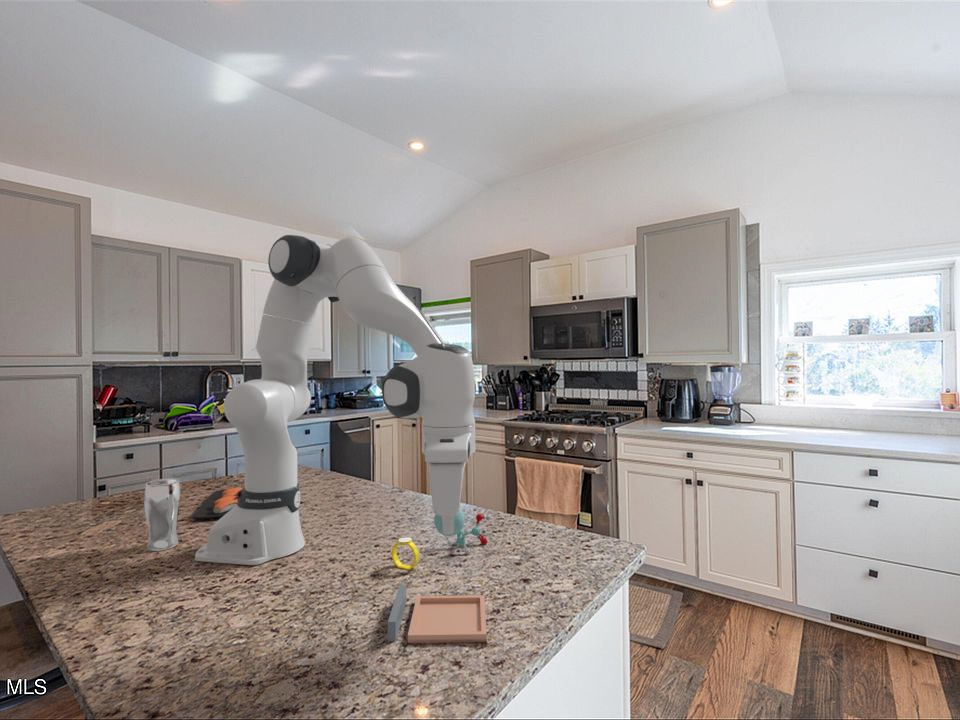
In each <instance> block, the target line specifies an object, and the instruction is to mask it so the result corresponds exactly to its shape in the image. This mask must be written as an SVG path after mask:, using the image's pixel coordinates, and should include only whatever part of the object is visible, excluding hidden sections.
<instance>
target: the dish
mask: <svg viewBox="0 0 960 720" xmlns="http://www.w3.org/2000/svg"><path fill="white" fill-rule="evenodd" d="M485 597H486V596H485V594H484V595H483V594H482V595H481V594H477V595H476V594H475V595H474V594H472V595H471V594H470V595H469V594H466V595H464V594H463V595H416V598H415V602H414V607H413V611H412V616H411V620H410V624H409V627H408V632H407V644H439V643H441V644H442V643H445V644H446V643H448V644H449V643H452V644H453V643H487V642H488V641H487V638H488V637H487V636H488V634H487V631H488V630H487V615H486V602H485V601H486V599H485Z"/></svg>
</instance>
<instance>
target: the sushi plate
mask: <svg viewBox="0 0 960 720" xmlns="http://www.w3.org/2000/svg"><path fill="white" fill-rule="evenodd" d="M242 489H243V487H242V488H241V487H230V488H227V489H219V490H216V491H213V492H212V493H211V494H210V495H209V496H208V497H207V498H206V499H205V500H204V502H203V503H202V504H200V506H199V507H198V508H197V509H196V510H195V511H194V513H193V515H192V518H193V519H197V520H199V519H201V520H202V519H203V520H204V519H218V518H219V519H220V518H222V517H223V516H224V515H225V514H226V513H228V512H229V511H230V510H231V509H233V508H234V507H235V506H237V503H238V502H237V499H236V500H233V499H234V497H235V496H233V495H235V494H237V492H238V491H240V490H242ZM302 503H305V502H303V501H300V504H302Z"/></svg>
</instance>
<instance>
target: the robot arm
mask: <svg viewBox="0 0 960 720" xmlns="http://www.w3.org/2000/svg"><path fill="white" fill-rule="evenodd" d="M267 261H268V263H267V264H268V268H269V272H270V274H271V276H272V278H273V282H272V283H271V286H270V287H269V288H270V289H269V291H268V293H267V294H268V295H267V297H266V300H265V303H264V306H263V312H262V316H261V321H260V326H259V329H258V336H257V340H256V345H255V346H256V349H255V350H256V352H257V353H258V355H259V359H260V364H261V378H257V379H251V380H246V381H245V382H242V383H240V384H238V385H237V386H234V387H233V388H231V390H230V391H229V392H228V393H227V395H226V396H225V399H224V403H223V412H224V415H225V417H226V420H227V421H228V422H229V423H230V424H231V425H232V426H233V427H234V428H235V429H236V431H237V434H238V437H239V440H240V443H241V448H242V451H243V456H244V457H243V458H244V486H243V487H242V488H243V489H242V490H240V491H238V492H237V494H235V495H233V496H235V497H234V499H233V500H236V499H237V502H238V503H237V506H235V507H234V508H233V509H231V510H230V511H229V512H228V513H226V514H225V515H224V516H223V517H221V518H219V519H218V520H217V521H215V522H214V524H213V525H212V526H211V527H210V530H209V532H208V535H207V541H206V543H204V544H203V545H202V546H200V547H199V548H198V550H196V552H195V554H194V560H195V561H197V562H205V563H206V562H207V563H219V564H220V563H221V564H233V565H244V566H245V565H247V566H258V565H261V564H263V563H266V562H269V561H272V560H276V559H279V558H284V557H287V556H289V555H292V554H295V553H296V552H298V551H300V550H302V549H303V548H304V546H305V545H306V541H305V537H304V534H303V531H302V525H301V519H300V511H299V509H300V504H301V503H300V502H301V492H300V491H301V490H300V484H299V482H298V450H297V449H296V447H295V446H294V445H293V443H292V441H291V437H290V433H289V430H288V423H290V422H293V421H295V420H297V419H299V418H300V417H301V416H302V415H304V414H305V413H306V411H307V410H308V409H309V407H310V405H311V402H312V395H311V391H310V389H309V387H308V355H309V350H310V349H309V348H310V344H311V339H312V335H313V329H314V324H315V319H316V314H317V313H316V312H317V309H318V308H317V307H318V305H319V303H320V302H321V301H322V300H323V299H325V298H327V299H328V300H329V302H331V303H336V302H339V303H340V305H341V307H342V309H343V310H344V312H345V313H346V314H347V315H348V316H349V317H350V319H351V320H352V321H354V322H355V323H356V324H358V325H360V326H362V327H366V328H368V329H372V330H376V331H379V332H384V333H385V334H389V335H392V336H394V337H396V338H398V339H400V340H402V341H403V342H405V343H406V344H408V346H410V348H411V349H412V350H413V352H414V353H415V355H416V357H414V358H412V359H410V360H409V361H407V362H404V363H402V364H399V365H394V366H393V367H391V369H390V370H388V372H387V373H386V374H385V377H384V378H383V381H382V388H381V395H382V400H383V403H384V405H385V407H386V409H387V410H388V412H389V413H390V414H391V415H393V416H394V417H395V418H401V419H415V418H416V419H418V418H421V419H422V420H421V454H423V455H424V462H425V463H426V464H428V473H429V475H428V476H429V483H430V485H429V486H430V495H431V502H432V503H431V504H432V508H433V513H434V516H435V515H437V516H441V517H442V524H443V533H444V534H453V533H454V517H455V515H457V514H458V513H459V508H460V507H461V500H462V488H463V480H464V471H465V467H466V464H467V463H468V461H469V459H470V457H471V455H472V454H474V453H475V452H476V419H475V416H474V409H473V408H474V404H475V403H474V402H475V399H476V394H477V393H476V392H477V384H476V378H475V367H474V361H473V358H472V355H471V352H470V351H469V350H468V349H467V348H466V347H464V346H461V345H458V344H457V345H456V344H450V343H449V344H448V343H445V341H444V339H443V338H442V336H441V335H440V334H439V333H438V331H437V330H436V328H435V326H434V325H433V324H432V322H431V321H430V320H429V319H428V317H427V315H425V313H423V311H422V310H421V309H420V308H419V307H418V306H417V305H416V304H414V302H412V301H411V299H410V298H408V297H407V296H406V295H405V294H404V293H403V291H401V289H400V288H399V287H398V286H397V285H396V283H395V281H394V280H393V279H392V277H391V276H390V274H389V271H388V270H387V269H386V267H385V265H384V263H383V262H382V260H381V259H380V258H379V256H378V255H377V253H376V252H375V251H374V250H373V248H371V246H370V245H369V244H368V243H367V242H366V241H364V240H362V238H361V239H360V238H356V237H345V238H342V239H340V240H337V241H336V242H335V243H334V244H333V245H331V244H328V243H324V242H320V241H317V240H312V239H310V238H307V237H305V236H302V235H296V234H295V235H294V234H285V235H283V236H280V238H278V239H277V240H276V241H275V242H273V244H272V246H271V248H270V251H269V254H268V260H267ZM460 509H461V508H460Z"/></svg>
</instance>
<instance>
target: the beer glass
mask: <svg viewBox="0 0 960 720" xmlns="http://www.w3.org/2000/svg"><path fill="white" fill-rule="evenodd" d="M180 487H181V485H180V479H179V478H172V477H171V478H160V479H154V480H151V481H147V482H146V483H145V489H144V498H143V499H144V500H143V501H144V512H145V518H146V523H147V526H148V540H147V545H146V550H147V552H148V551H149V552H162V551H167V550H169V549H170V550H171V549H172V548H175V547H176V546H178V545H179V539H178V533H177V524H178V519H179V518H178V517H179V514H180V513H179V512H180V507H181V488H180Z"/></svg>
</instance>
